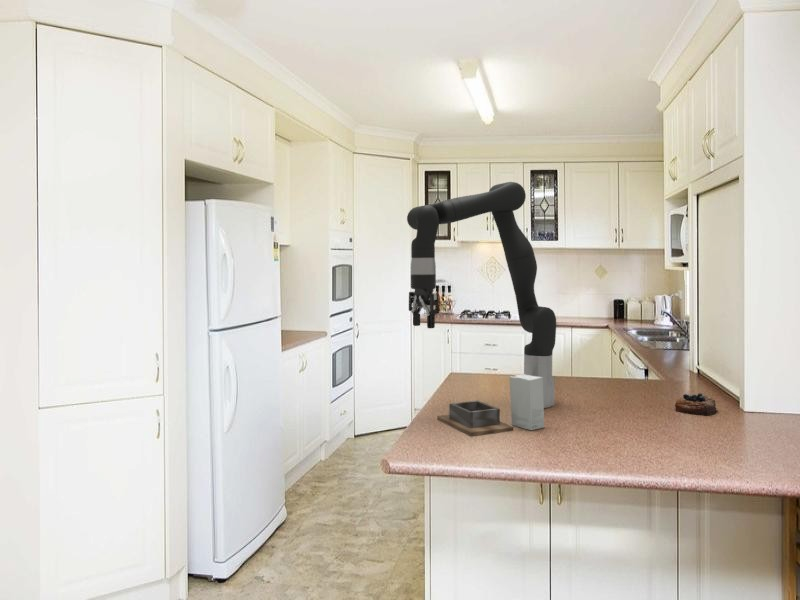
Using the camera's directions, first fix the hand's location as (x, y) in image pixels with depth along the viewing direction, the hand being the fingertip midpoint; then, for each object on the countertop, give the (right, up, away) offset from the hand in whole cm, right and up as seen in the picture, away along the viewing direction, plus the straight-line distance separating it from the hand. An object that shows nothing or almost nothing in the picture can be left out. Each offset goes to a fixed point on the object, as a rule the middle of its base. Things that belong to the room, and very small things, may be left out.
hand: (423, 326), depth 181 cm
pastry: (+88, -28, +13) cm, 94 cm away
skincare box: (+30, -29, -5) cm, 42 cm away
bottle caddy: (+15, -29, -3) cm, 33 cm away
